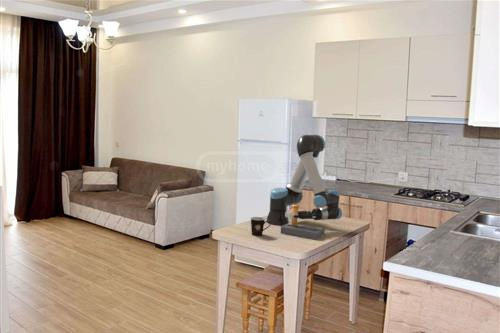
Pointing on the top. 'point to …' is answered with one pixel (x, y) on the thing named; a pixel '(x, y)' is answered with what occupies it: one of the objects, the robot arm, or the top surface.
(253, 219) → the coffee mug
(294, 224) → the switch lever
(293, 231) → the switch box
